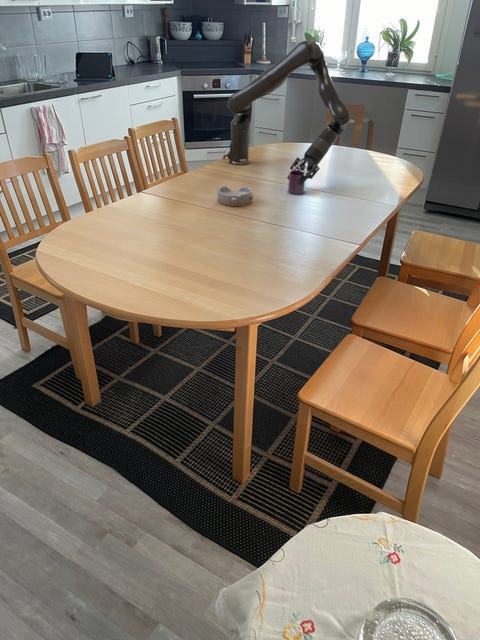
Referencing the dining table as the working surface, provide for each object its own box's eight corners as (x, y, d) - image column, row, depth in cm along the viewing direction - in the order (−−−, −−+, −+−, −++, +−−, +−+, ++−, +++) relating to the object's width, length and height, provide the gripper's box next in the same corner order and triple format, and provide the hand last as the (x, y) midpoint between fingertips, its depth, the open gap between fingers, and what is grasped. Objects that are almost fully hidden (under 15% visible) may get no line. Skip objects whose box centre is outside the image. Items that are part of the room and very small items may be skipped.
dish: (213, 198, 208) (213, 186, 205) (244, 194, 212) (244, 183, 209) (224, 209, 196) (225, 197, 194) (257, 205, 201) (257, 193, 198)
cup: (287, 193, 214) (288, 174, 209) (288, 188, 219) (290, 170, 215) (303, 194, 213) (304, 175, 208) (304, 189, 218) (305, 171, 214)
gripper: (302, 141, 214) (279, 172, 215) (324, 148, 204) (299, 181, 205) (310, 152, 220) (288, 182, 221) (332, 160, 210) (308, 191, 210)
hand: (293, 181), depth 213 cm, fingers closed on cup, 7 cm apart
